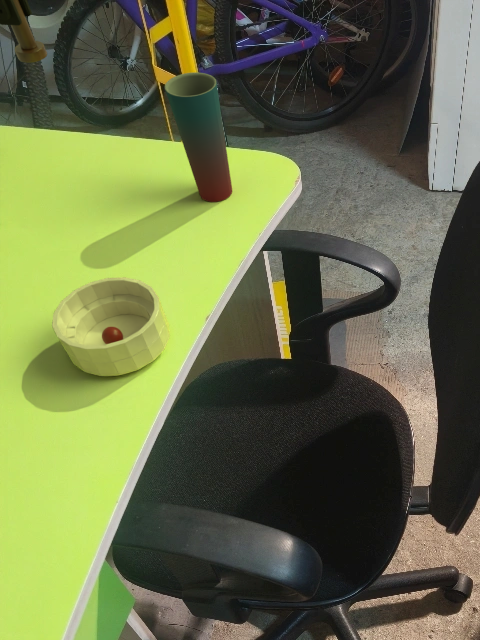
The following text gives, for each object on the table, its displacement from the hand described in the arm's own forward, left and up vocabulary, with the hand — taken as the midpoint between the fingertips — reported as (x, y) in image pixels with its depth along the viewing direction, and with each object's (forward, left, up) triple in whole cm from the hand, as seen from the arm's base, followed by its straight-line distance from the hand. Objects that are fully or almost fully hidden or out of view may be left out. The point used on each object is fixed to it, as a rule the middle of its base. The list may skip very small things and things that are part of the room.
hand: (15, 18), depth 79 cm
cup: (+26, -7, -19) cm, 33 cm away
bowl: (+23, -40, -19) cm, 50 cm away
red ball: (+23, -41, -17) cm, 50 cm away
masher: (0, 0, -5) cm, 5 cm away
